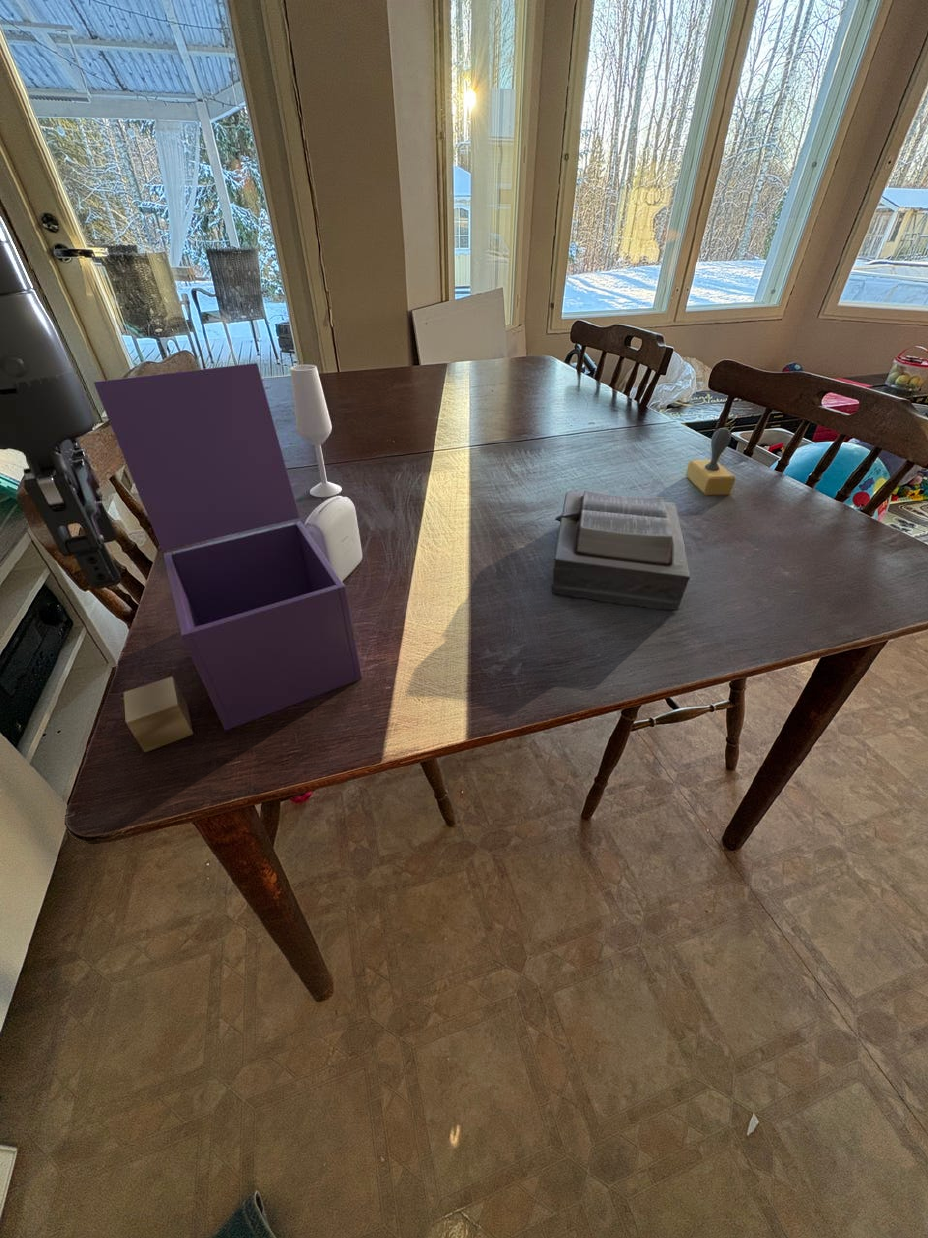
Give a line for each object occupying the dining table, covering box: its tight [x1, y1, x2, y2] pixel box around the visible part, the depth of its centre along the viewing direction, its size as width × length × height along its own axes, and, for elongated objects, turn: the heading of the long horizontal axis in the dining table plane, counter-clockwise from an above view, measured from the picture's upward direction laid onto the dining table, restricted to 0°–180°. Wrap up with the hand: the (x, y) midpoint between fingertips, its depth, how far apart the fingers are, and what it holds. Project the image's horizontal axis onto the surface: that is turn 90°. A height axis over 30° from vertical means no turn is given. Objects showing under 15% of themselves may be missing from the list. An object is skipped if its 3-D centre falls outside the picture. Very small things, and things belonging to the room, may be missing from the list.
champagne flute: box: [289, 364, 343, 498], centre depth 101 cm, size 7×7×24 cm
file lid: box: [93, 362, 301, 551], centre depth 60 cm, size 18×17×1 cm
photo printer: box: [303, 495, 363, 582], centre depth 80 cm, size 10×4×12 cm, turn 160°
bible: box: [550, 489, 691, 611], centre depth 83 cm, size 23×27×10 cm
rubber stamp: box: [685, 427, 736, 496], centre depth 106 cm, size 10×6×12 cm, turn 4°
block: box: [123, 676, 194, 753], centre depth 57 cm, size 5×5×5 cm
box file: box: [163, 520, 363, 731], centre depth 63 cm, size 18×17×14 cm
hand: (106, 561), depth 46 cm, fingers open, 8 cm apart
